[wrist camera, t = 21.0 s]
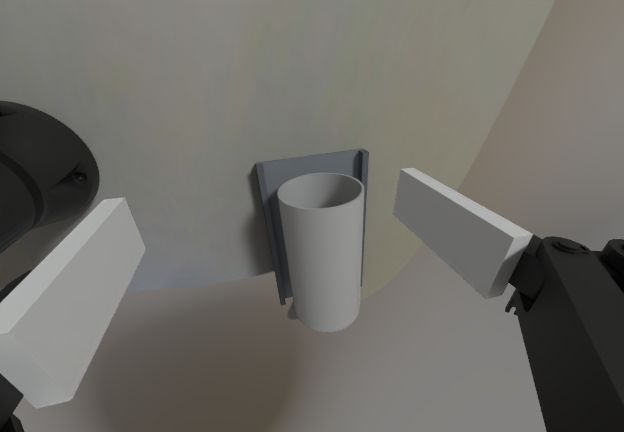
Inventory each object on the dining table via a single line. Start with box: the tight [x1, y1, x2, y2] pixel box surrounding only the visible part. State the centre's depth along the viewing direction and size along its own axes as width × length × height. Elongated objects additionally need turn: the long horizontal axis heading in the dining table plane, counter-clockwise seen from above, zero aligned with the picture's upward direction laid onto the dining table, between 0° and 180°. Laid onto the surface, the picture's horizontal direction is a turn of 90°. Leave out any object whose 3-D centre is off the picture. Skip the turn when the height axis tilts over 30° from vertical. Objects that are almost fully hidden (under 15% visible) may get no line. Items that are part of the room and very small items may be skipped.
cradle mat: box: [256, 149, 369, 305], centre depth 48 cm, size 30×18×2 cm, turn 4°
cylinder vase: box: [277, 173, 364, 333], centre depth 44 cm, size 12×12×25 cm
